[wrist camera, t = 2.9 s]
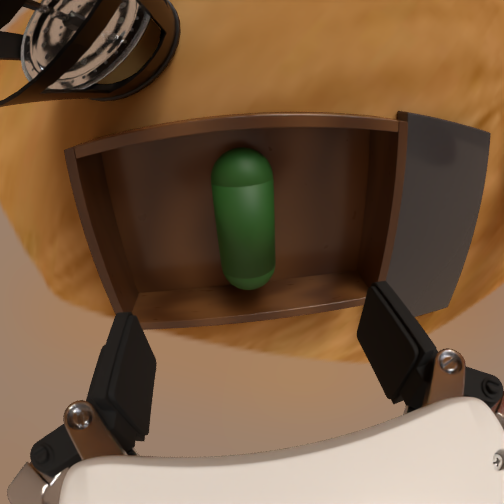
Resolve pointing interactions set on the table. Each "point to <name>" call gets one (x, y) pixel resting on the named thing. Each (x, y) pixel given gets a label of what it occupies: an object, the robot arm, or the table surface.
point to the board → (436, 210)
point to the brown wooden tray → (203, 217)
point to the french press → (85, 46)
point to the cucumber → (244, 217)
